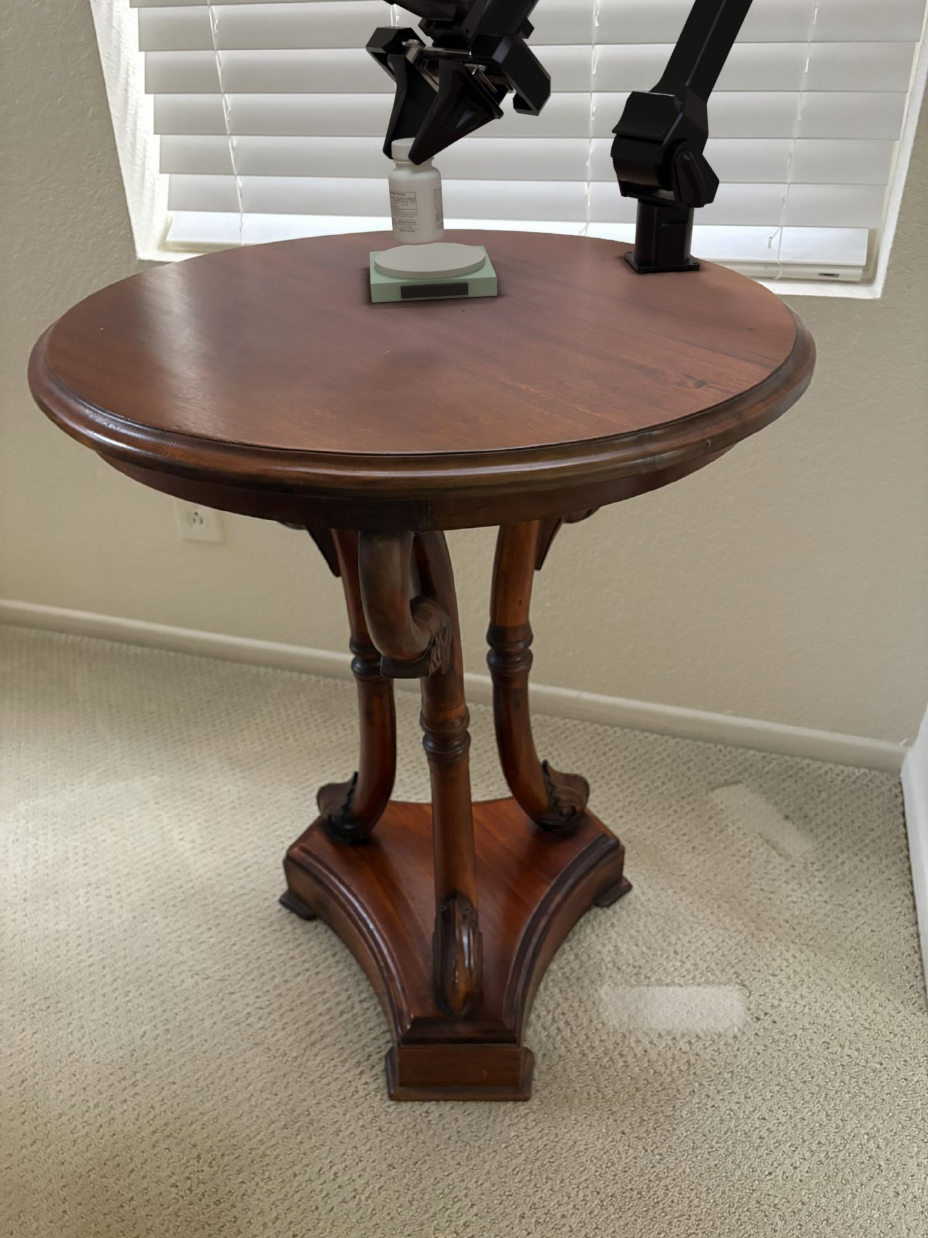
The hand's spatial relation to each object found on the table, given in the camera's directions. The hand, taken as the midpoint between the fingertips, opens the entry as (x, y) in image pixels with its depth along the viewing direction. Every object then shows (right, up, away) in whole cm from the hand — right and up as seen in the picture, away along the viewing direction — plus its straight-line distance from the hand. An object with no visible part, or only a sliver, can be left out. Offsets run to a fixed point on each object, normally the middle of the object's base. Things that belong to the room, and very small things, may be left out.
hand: (399, 158), depth 82 cm
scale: (+2, -4, +19) cm, 20 cm away
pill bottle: (+1, -5, +4) cm, 7 cm away
